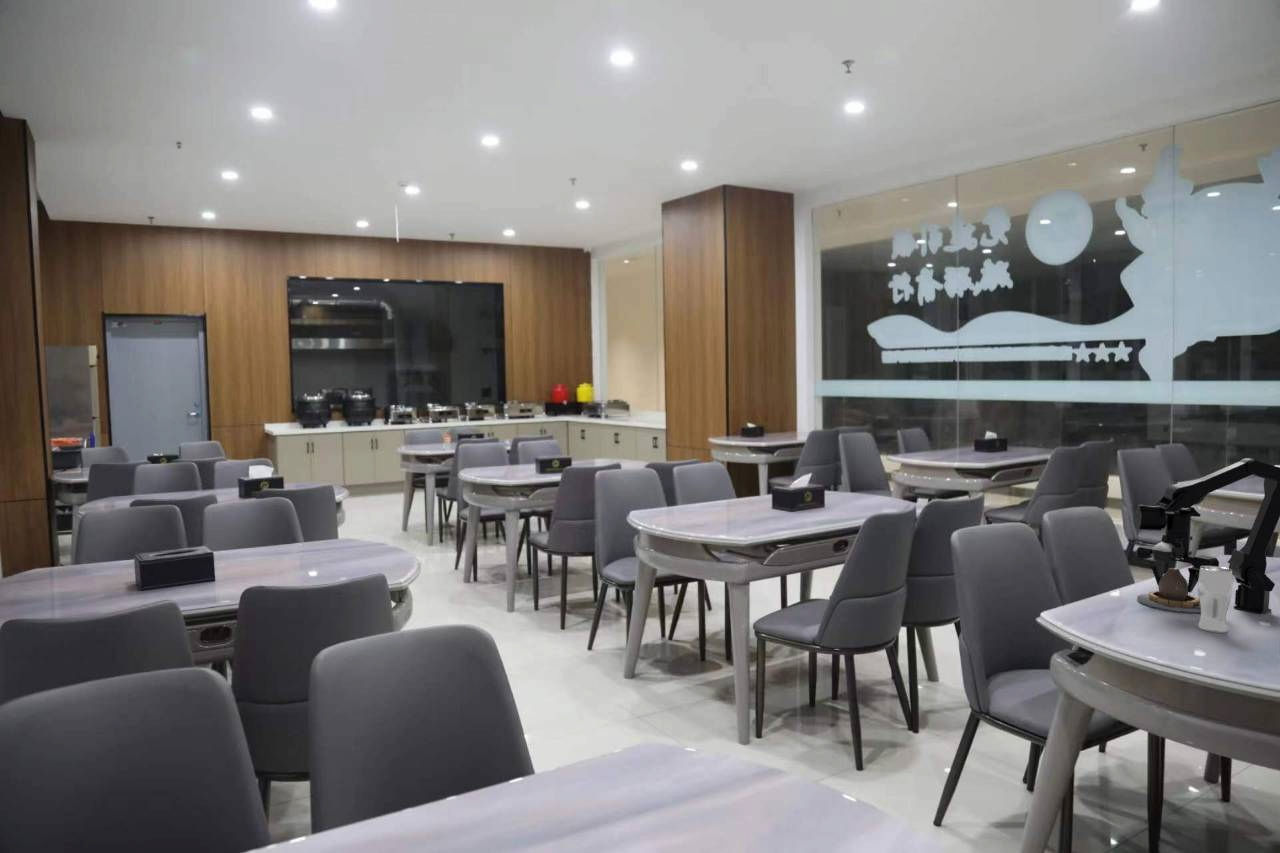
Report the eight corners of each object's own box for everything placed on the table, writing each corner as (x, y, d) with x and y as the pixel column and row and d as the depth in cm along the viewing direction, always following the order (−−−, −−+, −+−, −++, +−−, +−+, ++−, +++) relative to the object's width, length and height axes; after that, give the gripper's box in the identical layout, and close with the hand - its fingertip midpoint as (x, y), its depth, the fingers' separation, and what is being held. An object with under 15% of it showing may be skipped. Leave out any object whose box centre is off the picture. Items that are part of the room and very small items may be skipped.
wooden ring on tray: (1223, 608, 228) (1224, 599, 228) (1190, 616, 219) (1191, 607, 219) (1157, 593, 243) (1158, 585, 242) (1124, 600, 234) (1124, 592, 234)
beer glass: (1219, 626, 211) (1222, 566, 210) (1235, 634, 204) (1239, 572, 203) (1189, 624, 212) (1193, 564, 211) (1205, 632, 205) (1208, 571, 204)
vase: (1158, 602, 230) (1159, 569, 230) (1157, 597, 236) (1158, 565, 236) (1189, 605, 226) (1189, 572, 226) (1187, 600, 232) (1187, 568, 232)
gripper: (1126, 528, 233) (1123, 584, 234) (1199, 540, 218) (1196, 600, 219) (1148, 525, 239) (1145, 580, 240) (1221, 536, 223) (1218, 595, 224)
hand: (1174, 589), depth 231 cm, fingers open, 7 cm apart
